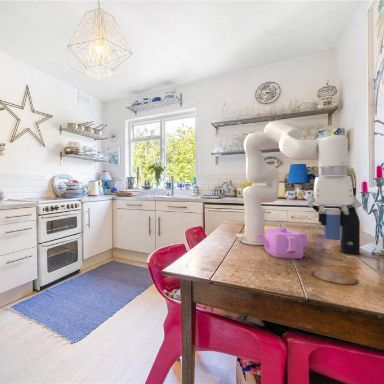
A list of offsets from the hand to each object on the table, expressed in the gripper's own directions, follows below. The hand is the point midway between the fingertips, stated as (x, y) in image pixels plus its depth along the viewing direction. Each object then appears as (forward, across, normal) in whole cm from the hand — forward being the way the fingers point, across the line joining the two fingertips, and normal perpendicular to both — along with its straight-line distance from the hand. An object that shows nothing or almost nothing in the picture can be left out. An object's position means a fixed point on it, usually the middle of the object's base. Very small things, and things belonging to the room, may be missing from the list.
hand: (332, 224), depth 81 cm
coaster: (+18, 0, 0) cm, 18 cm away
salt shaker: (+5, 0, 0) cm, 5 cm away
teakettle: (+19, +15, -24) cm, 34 cm away
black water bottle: (+19, -12, -40) cm, 46 cm away
